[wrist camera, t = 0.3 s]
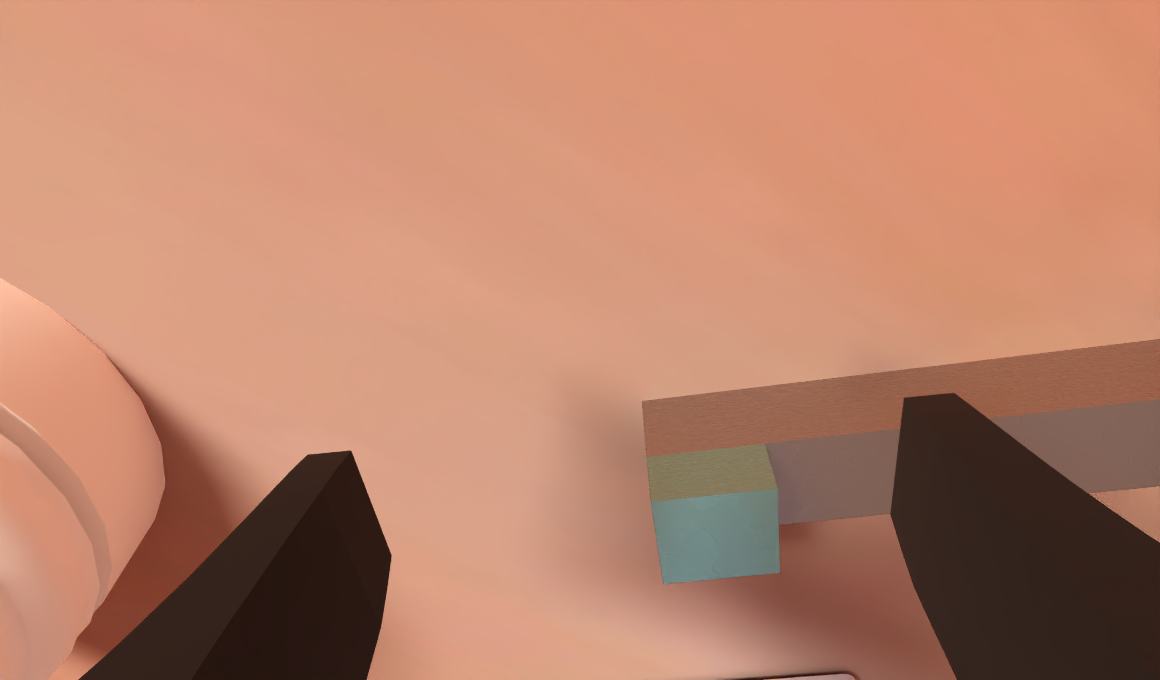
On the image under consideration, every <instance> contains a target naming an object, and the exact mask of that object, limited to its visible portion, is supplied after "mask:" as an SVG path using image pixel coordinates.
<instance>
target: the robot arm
mask: <svg viewBox="0 0 1160 680" xmlns="http://www.w3.org/2000/svg"><path fill="white" fill-rule="evenodd" d="M890 514H891V518H892V521H893V524H894V527H895V530H896V534H897V537H898V540H899V543H900V546H901V550H902V553H903V556H904V559H905V562H906V565H907V568H908V571H909V573H910V576H911V579H912V582H913V585H914V588H915V590H916V592H917V594H918V597H919V599H920V601H921V603H922V605H923V608H924V610H925V612H926V614H927V616H928V618H929V621H930V623H931V625H932V627H933V629H934V631H935V634H936V636H937V638H938V640H939V642H940V644H941V646H942V649H943V651H944V653H945V655H946V657H947V659H948V661H949V663H950V665H951V668H952V670H953V672H954V674H955V676H956V678H957V680H1160V543H1159V542H1158V541H1156V540H1155V539H1153V538H1152V537H1150V536H1149V535H1147V534H1145V533H1144V532H1142V531H1141V530H1140V529H1138V528H1137V527H1135V526H1134V525H1132V524H1131V523H1129V522H1128V521H1126V520H1125V519H1124V518H1122V517H1121V516H1119V515H1118V514H1116V513H1115V512H1113V511H1112V510H1111V509H1109V508H1108V507H1106V506H1105V505H1103V504H1102V503H1101V502H1099V501H1098V500H1096V499H1095V498H1094V497H1092V496H1091V495H1089V494H1088V493H1087V492H1085V491H1084V490H1083V489H1081V488H1080V487H1078V486H1077V485H1076V484H1074V483H1073V482H1072V481H1070V480H1069V479H1067V478H1066V477H1065V476H1063V475H1062V474H1061V473H1059V472H1058V471H1057V470H1055V469H1054V468H1053V467H1051V466H1050V465H1049V464H1047V463H1046V462H1045V461H1043V460H1042V459H1041V458H1039V457H1038V456H1037V455H1035V454H1034V453H1033V452H1031V451H1030V450H1029V449H1027V448H1026V447H1025V446H1023V445H1022V444H1021V443H1019V442H1018V441H1017V440H1016V439H1014V438H1013V437H1012V436H1010V435H1009V434H1008V433H1006V432H1005V431H1004V430H1003V429H1001V428H1000V427H999V426H997V425H996V424H995V423H993V422H992V421H991V420H990V419H988V418H987V417H986V416H984V415H983V414H982V413H980V412H979V411H978V410H976V409H975V408H974V407H972V406H971V405H970V404H969V403H967V402H966V401H964V400H963V399H962V398H960V397H959V396H958V395H956V394H955V393H946V394H936V395H925V396H915V397H904V400H903V409H902V418H901V426H900V435H899V443H898V452H897V461H896V469H895V478H894V486H893V495H892V504H891V512H890ZM391 557H392V555H391V553H390V550H389V548H388V545H387V542H386V540H385V537H384V535H383V532H382V529H381V527H380V524H379V522H378V519H377V516H376V514H375V511H374V509H373V506H372V503H371V501H370V498H369V496H368V493H367V491H366V488H365V485H364V483H363V480H362V478H361V475H360V472H359V470H358V467H357V465H356V462H355V459H354V457H353V454H352V452H351V451H342V452H331V453H321V454H310V455H307V456H306V457H305V458H304V459H303V460H302V461H301V462H299V463H298V464H297V465H296V466H295V467H294V468H293V469H292V470H291V471H290V472H289V473H288V474H287V475H286V477H285V478H284V479H283V480H282V481H281V482H280V483H279V484H278V485H277V486H276V487H275V488H274V489H273V490H272V491H271V492H270V493H269V494H268V495H267V496H266V497H265V498H264V500H263V501H262V502H261V503H260V504H259V505H258V506H257V507H256V508H255V509H254V510H253V511H252V512H251V513H250V514H249V515H248V516H247V517H246V519H245V520H244V521H243V522H242V523H241V524H240V525H239V526H238V527H237V528H236V529H235V530H234V531H233V532H232V533H231V534H230V535H229V536H228V537H227V538H226V539H225V540H224V541H223V542H222V543H221V544H220V545H219V547H218V548H217V549H216V550H215V551H214V552H213V553H212V554H211V555H210V556H209V557H208V558H207V559H206V560H205V561H204V562H203V563H202V564H201V565H200V566H199V567H198V568H197V569H196V570H195V571H194V572H193V573H192V574H191V575H190V576H189V577H188V578H187V579H186V580H185V581H184V582H183V583H182V584H181V585H180V586H179V587H178V588H177V589H176V590H175V591H174V592H173V593H172V594H171V595H170V596H168V597H167V598H166V599H165V600H164V601H163V602H162V603H161V604H160V605H159V606H158V607H157V608H156V609H155V610H154V611H153V612H152V613H151V614H150V615H149V616H148V617H147V618H145V619H144V620H143V621H142V622H141V623H140V624H139V625H138V626H137V627H136V628H135V629H134V630H133V631H132V632H131V633H130V634H129V635H128V636H127V637H126V638H125V639H124V640H122V641H121V642H120V643H119V644H118V645H117V646H116V647H115V648H114V649H113V650H112V651H110V652H109V653H108V654H107V655H106V656H105V657H104V658H103V659H102V660H100V661H99V662H98V663H97V664H96V665H95V666H94V667H92V668H91V669H90V670H89V671H88V672H87V673H86V674H84V675H83V676H82V677H81V678H80V679H79V680H367V676H368V672H369V669H370V665H371V662H372V658H373V655H374V651H375V647H376V644H377V640H378V636H379V632H380V629H381V624H382V618H383V612H384V606H385V600H386V593H387V586H388V579H389V571H390V564H391ZM765 680H855V678H854V677H853V676H851V675H848V674H833V675H820V676H806V677H792V678H779V679H765Z"/></svg>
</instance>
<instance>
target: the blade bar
mask: <svg viewBox="0 0 1160 680" xmlns="http://www.w3.org/2000/svg"><path fill="white" fill-rule="evenodd" d="M946 393H955V394H956V395H958V396H959V397H960V398H962V399H963V400H964V401H966V402H967V403H969V404H970V405H971V406H972V407H974V408H975V409H976V410H978V411H979V412H980V413H982V414H983V415H984V416H986V417H987V418H988V419H990V420H991V421H992V422H993V423H995V424H996V425H997V426H999V427H1000V428H1001V429H1003V430H1004V431H1005V432H1006V433H1008V434H1009V435H1010V436H1012V437H1013V438H1014V439H1016V440H1017V441H1018V442H1019V443H1021V444H1022V445H1023V446H1025V447H1026V448H1027V449H1029V450H1030V451H1031V452H1033V453H1034V454H1035V455H1037V456H1038V457H1039V458H1041V459H1042V460H1043V461H1045V462H1046V463H1047V464H1049V465H1050V466H1051V467H1053V468H1054V469H1055V470H1057V471H1058V472H1059V473H1061V474H1062V475H1063V476H1065V477H1066V478H1067V479H1069V480H1070V481H1072V482H1073V483H1074V484H1076V485H1077V486H1078V487H1080V488H1081V489H1083V490H1084V491H1085V492H1087V493H1097V492H1107V491H1116V490H1126V489H1136V488H1146V487H1156V486H1160V339H1157V340H1149V341H1140V342H1132V343H1124V344H1115V345H1107V346H1098V347H1090V348H1082V349H1073V350H1065V351H1057V352H1048V353H1040V354H1032V355H1023V356H1015V357H1007V358H998V359H990V360H982V361H973V362H965V363H957V364H948V365H940V366H932V367H923V368H915V369H906V370H898V371H890V372H881V373H873V374H865V375H856V376H848V377H840V378H831V379H823V380H815V381H806V382H798V383H790V384H781V385H773V386H765V387H756V388H748V389H740V390H731V391H723V392H714V393H706V394H698V395H689V396H681V397H673V398H664V399H656V400H648V401H642V409H643V420H644V431H645V442H646V454H647V465H648V476H649V487H650V498H651V506H652V513H653V519H654V526H655V532H656V539H657V545H658V552H659V558H660V565H661V571H662V578H663V584H670V583H681V582H691V581H701V580H712V579H722V578H732V577H743V576H753V575H764V574H774V573H780V553H779V525H784V524H794V523H804V522H814V521H823V520H833V519H843V518H853V517H862V516H872V515H882V514H890V512H891V504H892V495H893V486H894V478H895V469H896V461H897V452H898V443H899V435H900V426H901V418H902V409H903V400H904V397H915V396H925V395H936V394H946Z"/></svg>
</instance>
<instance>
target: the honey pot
mask: <svg viewBox="0 0 1160 680" xmlns="http://www.w3.org/2000/svg"><path fill="white" fill-rule="evenodd" d="M164 488H165V475H164V466H163V456H162V447H161V443H160V441H159V438H158V436H157V434H156V432H155V430H154V427H153V425H152V423H151V421H150V419H149V416H148V414H147V412H146V410H145V407H144V405H143V403H142V401H141V399H140V398H139V396H138V395H137V394H136V393H135V391H134V390H133V389H132V388H131V386H130V385H129V384H128V383H127V381H126V380H125V379H124V378H123V376H122V375H121V374H120V372H119V371H118V370H117V369H116V367H115V366H114V365H113V364H112V362H111V361H110V360H109V359H108V357H107V356H106V355H105V354H104V352H102V351H101V350H100V349H99V348H98V347H96V346H95V345H94V344H93V343H92V342H91V341H89V340H88V339H87V338H86V337H85V336H84V335H82V334H81V333H80V332H79V331H78V330H76V329H75V328H74V327H73V326H72V325H71V324H69V323H68V322H67V321H66V320H65V319H64V318H62V317H61V316H60V315H59V314H58V313H56V312H55V311H54V310H53V309H52V308H50V307H48V306H47V305H45V304H43V303H42V302H40V301H38V300H37V299H35V298H33V297H31V296H30V295H28V294H26V293H25V292H23V291H21V290H20V289H18V288H16V287H14V286H13V285H11V284H9V283H8V282H6V281H4V280H3V279H1V278H0V680H47V679H48V678H49V677H50V676H51V675H52V674H53V673H54V672H55V670H56V669H57V668H58V667H59V666H60V665H61V664H62V663H63V662H64V660H65V659H66V658H67V657H68V656H69V655H70V654H71V652H72V650H73V647H74V644H75V642H76V639H77V637H78V636H79V635H80V633H81V632H82V631H83V630H84V629H85V628H86V627H87V626H88V624H89V623H90V622H91V619H92V615H93V613H94V612H95V611H96V610H97V609H98V608H99V606H100V605H101V604H102V603H103V602H104V600H105V598H106V597H107V595H108V594H109V592H110V590H111V589H112V587H113V586H114V584H115V582H116V581H117V579H118V578H119V576H120V574H121V573H122V571H123V570H124V568H125V566H126V565H127V563H128V562H129V560H130V559H131V557H132V555H133V554H134V552H135V551H136V549H137V547H138V546H139V544H140V543H141V541H142V539H143V538H144V536H145V535H146V533H147V531H148V530H149V528H150V527H151V525H152V523H153V522H154V520H155V518H156V515H157V512H158V508H159V505H160V502H161V498H162V495H163V492H164Z"/></svg>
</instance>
